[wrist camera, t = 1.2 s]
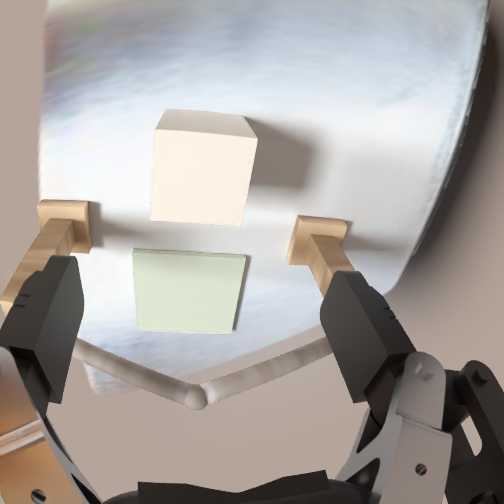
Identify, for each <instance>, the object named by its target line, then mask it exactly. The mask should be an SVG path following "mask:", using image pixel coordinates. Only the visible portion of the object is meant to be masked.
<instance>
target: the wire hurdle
mask: <svg viewBox="0 0 504 504" xmlns="http://www.w3.org/2000/svg"><path fill="white" fill-rule="evenodd" d="M37 210H38V216H39V223H40V229H41V231H40V233H39V234H38V236H37V238H36V239H35V241H34V242H33V244H32V245H31V247H30V249H29V250H28V252H27V253H26V255H25V257H24V258H23V260H22V261H21V263H20V265H19V266H18V268H17V270H16V271H15V273H14V275H13V277H12V278H11V280H10V282H9V284H8V285H7V287H6V289H5V291H4V293H3V295H2V297H1V298H0V304H1V306H2V309H3V311H4V313H5V316H7V314H8V312H9V310H10V308H11V306H13V302H14V300H15V298H16V296H18V292H19V290H20V289H21V287H22V285H23V283H24V281H25V280H26V279H27V278H28V277H29V276H31V275H32V274H33V273H34V272H35V271H36V270H38V271H43V269H44V267H45V265H46V263H47V262H48V260H49V258H50V256H51V255H65V256H69V255H70V253H71V252H72V253H87V254H89V252H90V250H91V247H92V243H91V233H90V223H89V211H88V201H69V200H41V201H40V203H39V204H38V205H37ZM347 227H348V226H347V225H346V223H345V222H344V221H343V220H338V219H328V218H319V217H309V216H299V215H298V217H297V221H296V224H295V228H294V232H293V235H292V239H291V242H290V246H289V250H288V253H287V257H286V258H287V260H288V263H289V265H309V267H310V269H311V272H312V274H313V276H314V278H315V280H316V282H317V284H318V287H319V289H320V291H321V293H322V295H323V297H325V295H326V292H327V289H328V287H329V284H330V282H331V279H332V277H333V274H334V273H335V272H336V271H338V270H342V271H355V270H354V268H353V266H352V265H351V263H350V262H349V260H348V258H347V257H346V255H345V254H344V252H343V251H342V249H341V247H340V246H341V244H342V241H343V238H344V235H345V233H346V230H347ZM331 353H333V351H332V348H331V346H330V344H329V341H328V339H327V336H326V337H323V338H321V339H319V340H317V341H314V342H312V343H309V344H307V345H305V346H303V347H300V348H297V349H295V350H293V351H290V352H288V353H285V354H282V355H280V356H277V357H275V358H272V359H270V360H267V361H264V362H262V363H259V364H257V365H254V366H251V367H248V368H246V369H243V370H240V371H237V372H235V373H232V374H229V375H226V376H223V377H220V378H218V379H214V380H211V381H208V382H205V383H202V384H199V385H198V384H189V383H186V382H183V381H180V380H177V379H175V378H172V377H169V376H166V375H164V374H161V373H158V372H156V371H153V370H151V369H148V368H145V367H143V366H140V365H138V364H136V363H133V362H131V361H128V360H126V359H124V358H121V357H119V356H117V355H114V354H112V353H110V352H107V351H105V350H103V349H101V348H99V347H96V346H94V345H92V344H90V343H88V342H86V341H84V340H81V339H79V338H76V341H75V345H74V349H73V353H72V357H74V358H76V359H78V360H80V361H82V362H84V363H86V364H88V365H90V366H92V367H94V368H96V369H99V370H101V371H103V372H105V373H107V374H109V375H111V376H114V377H116V378H118V379H120V380H123V381H125V382H127V383H130V384H132V385H134V386H137V387H139V388H141V389H144V390H146V391H149V392H152V393H154V394H157V395H159V396H162V397H165V398H167V399H170V400H172V401H175V402H178V403H181V404H184V405H185V406H187V407H188V408H189V409H191V410H201V409H203V408H204V407H206V405H209V404H211V403H214V402H217V401H220V400H222V399H225V398H228V397H231V396H233V395H236V394H239V393H241V392H244V391H246V390H249V389H252V388H254V387H257V386H259V385H261V384H264V383H266V382H268V381H271V380H274V379H276V378H278V377H281V376H283V375H285V374H287V373H290V372H292V371H294V370H297V369H299V368H301V367H303V366H306V365H308V364H310V363H312V362H314V361H316V360H318V359H321V358H323V357H325V356H327V355H329V354H331Z"/></svg>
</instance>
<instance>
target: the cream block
mask: <svg viewBox="0 0 504 504" xmlns="http://www.w3.org/2000/svg"><path fill="white" fill-rule="evenodd" d="M257 142H258V138H257V136H256V135H255V133H254V132H253V130H252V129H251V127H250V126H249V124H248V123H247V121H246V120H245V119H244V117H243V116H240V115H232V114H224V113H214V112H204V111H193V110H179V109H166V110H165V112H164V114H163V116H162V118H161V119H160V121H159V123H158V125H157V127H156V129H155V137H154V151H153V167H152V188H151V220H152V221H169V222H186V223H202V224H217V225H231V226H242V222H243V217H244V211H245V206H246V200H247V195H248V189H249V184H250V179H251V173H252V168H253V163H254V157H255V152H256V147H257Z"/></svg>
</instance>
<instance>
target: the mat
mask: <svg viewBox="0 0 504 504" xmlns="http://www.w3.org/2000/svg"><path fill="white" fill-rule="evenodd" d="M132 255H133V275H134V290H135V303H136V314H137V325H138V330H140V331H157V332H178V333H209V334H231V332H232V327H233V322H234V317H235V312H236V307H237V302H238V297H239V292H240V287H241V282H242V277H243V272H244V267H245V262H246V256H245V255H233V254H216V253H198V252H180V251H163V250H145V249H133V252H132Z"/></svg>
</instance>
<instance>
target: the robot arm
mask: <svg viewBox="0 0 504 504" xmlns="http://www.w3.org/2000/svg"><path fill="white" fill-rule="evenodd" d="M83 312H84V295H83V290H82V285H81V279H80V273H79V267H78V262H77V259H76V257H75V256H65V255H51V256H50V258H49V260H48V262H47V263H46V265H45V267H44V269H43V271H38V270H36V271H35V272H34V273H33V274H32V275H31V276H29V277H28V278H27V279H26V280H25V281H24V283H23V285H22V287H21V289H20V290H19V292H18V296H16V298H15V300H14V302H13V306H11V308H10V310H9V312H8V314H7V316H6V319H5V321H4V323H3V325H2V327H1V329H0V494H1V496H2V498H3V500H4V502H5V504H442V501H443V496H444V492H445V495H446V498H447V501H448V504H504V392H503V390H502V388H501V387H500V385H499V383H498V381H497V380H496V378H495V376H494V374H493V373H492V371H491V370H490V369H489V368H488V367H487V366H486V365H485V364H483V363H482V362H479V361H476V360H472V361H469V362H468V363H467V364H466V365H465V366H464V367H463V368H462V370H461V371H454V370H446V369H444V368H443V366H442V365H441V363H440V362H439V361H438V360H437V359H436V358H434V357H433V356H431V355H430V354H427V353H425V352H417V351H416V349H415V347H414V346H413V344H412V343H411V341H410V339H409V337H408V336H407V334H406V332H405V331H404V329H403V327H402V326H401V324H400V323H399V321H398V319H396V316H395V315H394V313H393V312H392V310H390V307H389V305H388V303H387V302H386V300H385V299H384V297H383V296H382V295H381V294H380V293H378V292H377V291H376V290H375V289H374V288H373V287H372V286H369V285H368V283H367V282H366V280H365V278H364V277H363V275H362V274H361V273H360V272H359V271H342V270H338V271H336V272H335V273H334V274H333V277H332V279H331V282H330V284H329V287H328V289H327V292H326V295H325V297H324V300H323V302H322V305H321V308H320V321H321V324H322V327H323V329H324V332H325V334H326V336H327V339H328V341H329V344H330V346H331V348H332V351H333V353H334V356H335V358H336V361H337V363H338V365H339V368H340V370H341V373H342V375H343V378H344V380H345V383H346V385H347V388H348V390H349V393H350V395H351V398H352V400H353V403H358V402H364V401H367V402H368V404H369V407H368V408H367V410H366V412H365V414H364V417H363V420H362V423H361V426H360V429H359V432H358V435H357V437H356V440H355V443H354V445H353V448H352V451H351V453H350V456H349V458H348V460H347V462H346V463H345V465H344V466H343V467H342V469H341V470H340V472H339V473H338V475H337V477H336V478H335V480H333V479H328V478H327V474H326V471H325V470H322V471H316V472H311V473H306V474H299V475H293V476H287V477H282V478H279V479H277V480H274V481H272V482H269V483H266V484H264V485H261V486H258V487H255V488H252V489H249V490H246V491H243V492H239V493H232V492H226V491H220V490H215V489H209V488H204V487H199V486H194V485H190V484H177V483H176V484H175V483H151V482H138V490H137V491H131V492H127V493H124V494H120V495H118V496H115V497H112V498H110V499H108V500H107V501H105V502H103V501H102V500H101V498H100V497H99V496H98V494H97V493H96V492H95V490H94V489H93V488H92V486H91V485H90V484H89V482H88V481H87V479H86V478H85V477H84V476H83V474H82V473H81V472H80V470H79V469H78V467H77V466H76V464H75V463H74V461H73V460H72V458H71V457H70V455H69V453H68V452H67V450H66V448H65V446H64V445H63V443H62V441H61V439H60V438H59V436H58V434H57V432H56V430H55V429H54V427H53V425H52V423H51V421H50V419H49V417H48V415H47V414H46V412H47V407H48V402H52V403H58V404H61V401H62V396H63V391H64V387H65V382H66V378H67V373H68V369H69V365H70V361H71V357H72V353H73V349H74V345H75V341H76V338H77V334H78V331H79V327H80V324H81V320H82V317H83ZM469 416H471V418H472V420H473V422H474V424H475V427H476V429H477V431H478V433H479V435H480V438H481V440H482V449H481V451H480V453H479V454H478V455H477V456H475V455H474V454H473V451H472V449H471V447H470V444H469V442H468V440H467V438H466V435H465V433H464V431H463V428H462V426H461V423H462V422H463V421H464V420H465V419H466V418H467V417H469Z"/></svg>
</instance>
